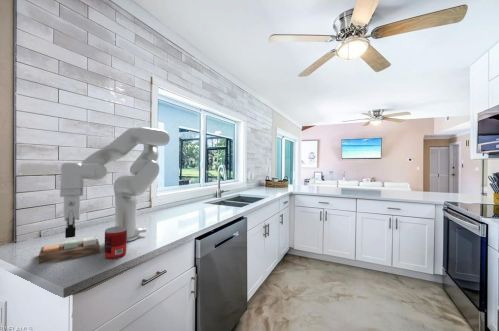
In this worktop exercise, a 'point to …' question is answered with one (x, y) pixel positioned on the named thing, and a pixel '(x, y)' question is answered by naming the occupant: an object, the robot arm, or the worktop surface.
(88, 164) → the robot arm
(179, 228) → the worktop surface
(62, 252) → the key panel
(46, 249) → the terracotta key
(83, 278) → the worktop surface
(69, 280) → the worktop surface
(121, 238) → the canned food
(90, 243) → the ivory key
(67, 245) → the sage key
